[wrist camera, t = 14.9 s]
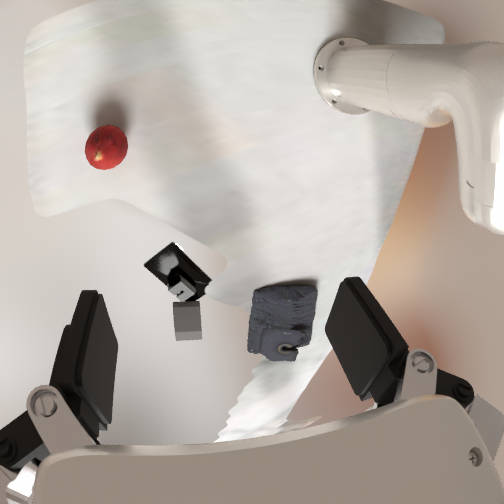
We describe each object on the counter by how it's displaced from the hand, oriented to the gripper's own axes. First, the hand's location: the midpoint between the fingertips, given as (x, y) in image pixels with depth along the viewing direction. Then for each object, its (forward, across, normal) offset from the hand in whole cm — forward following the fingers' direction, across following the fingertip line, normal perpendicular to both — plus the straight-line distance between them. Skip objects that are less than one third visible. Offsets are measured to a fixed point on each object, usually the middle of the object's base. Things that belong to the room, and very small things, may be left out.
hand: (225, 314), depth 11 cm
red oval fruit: (+34, +12, 0) cm, 36 cm away
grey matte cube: (+33, +2, +33) cm, 47 cm away
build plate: (+34, +2, +24) cm, 42 cm away
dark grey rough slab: (+34, -18, +38) cm, 54 cm away
